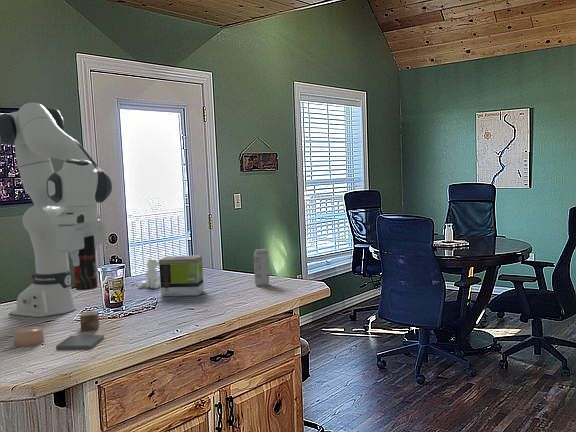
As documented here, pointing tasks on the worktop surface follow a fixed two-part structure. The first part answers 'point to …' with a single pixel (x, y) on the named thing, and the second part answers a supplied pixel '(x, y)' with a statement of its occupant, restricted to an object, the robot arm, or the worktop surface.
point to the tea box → (181, 275)
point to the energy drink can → (261, 267)
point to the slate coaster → (80, 342)
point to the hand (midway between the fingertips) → (84, 263)
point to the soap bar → (28, 336)
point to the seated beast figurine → (151, 276)
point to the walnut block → (89, 321)
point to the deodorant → (86, 266)
